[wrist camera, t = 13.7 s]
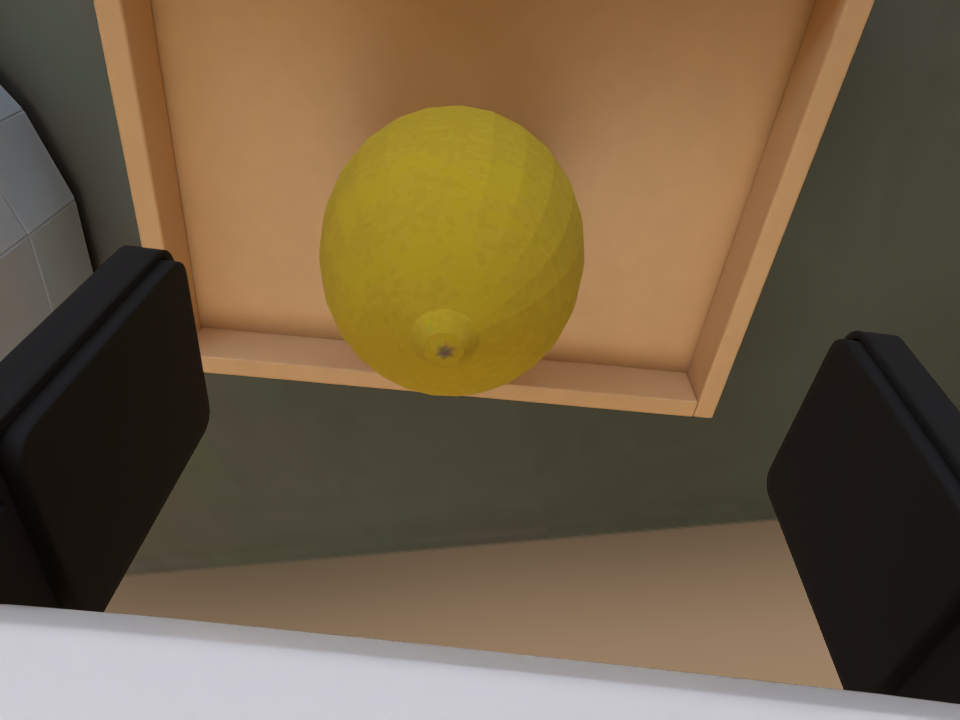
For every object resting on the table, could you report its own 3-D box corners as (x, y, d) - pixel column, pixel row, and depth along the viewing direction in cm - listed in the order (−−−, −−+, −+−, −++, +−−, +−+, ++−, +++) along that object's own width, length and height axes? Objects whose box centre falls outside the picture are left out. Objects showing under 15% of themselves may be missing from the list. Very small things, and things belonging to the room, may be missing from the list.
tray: (852, -58, 15) (895, -50, 14) (696, 379, 22) (712, 419, 21) (109, -152, 14) (61, -156, 13) (189, 332, 21) (164, 369, 20)
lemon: (426, 303, 20) (396, 508, 14) (311, 138, 17) (204, 294, 11) (600, 218, 19) (660, 403, 12) (504, 21, 16) (514, 122, 9)
